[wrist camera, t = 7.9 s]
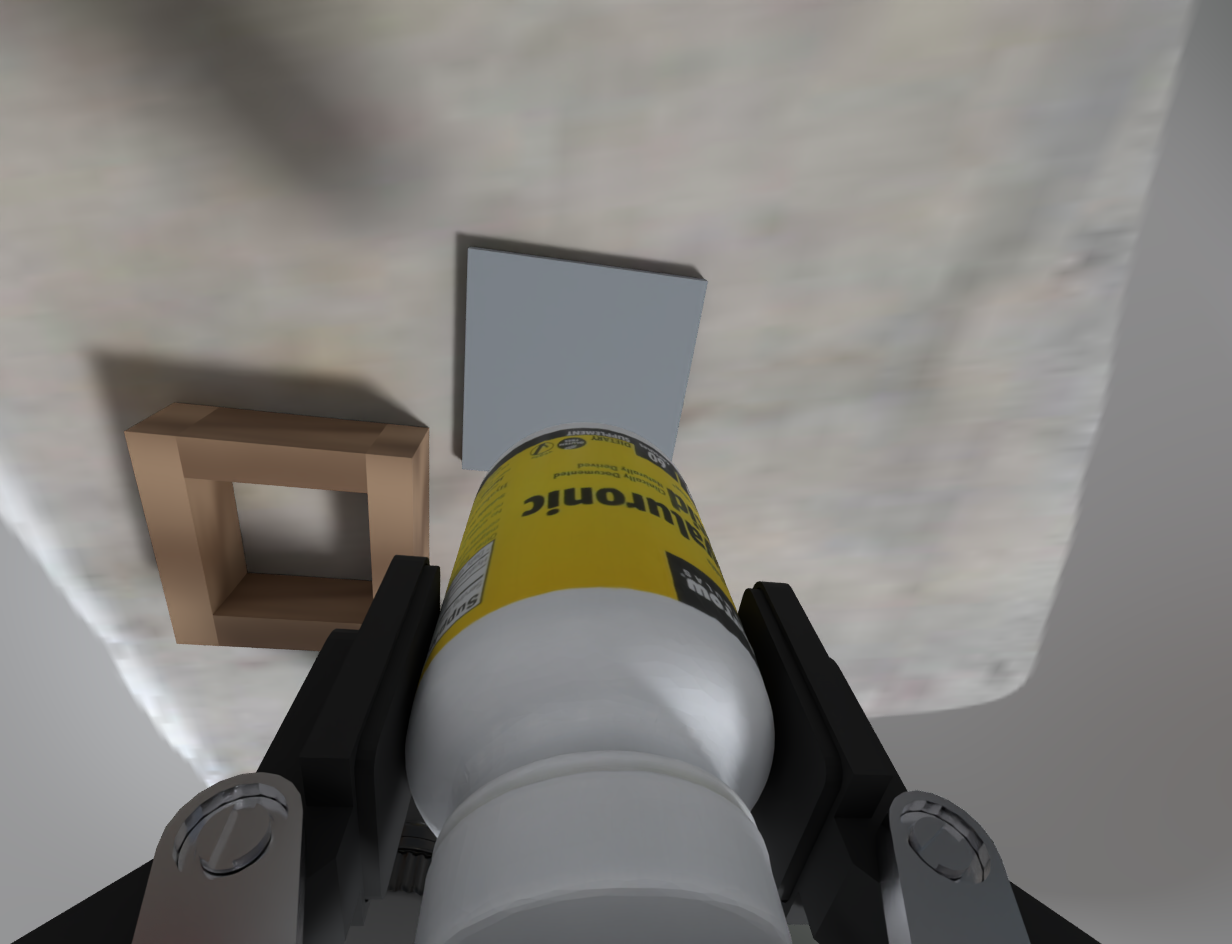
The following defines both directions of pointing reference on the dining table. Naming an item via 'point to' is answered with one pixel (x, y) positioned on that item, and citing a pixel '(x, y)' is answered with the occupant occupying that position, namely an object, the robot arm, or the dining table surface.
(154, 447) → the walnut collar
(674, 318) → the slate mat
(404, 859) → the supplement bottle
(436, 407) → the dining table surface
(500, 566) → the supplement bottle
